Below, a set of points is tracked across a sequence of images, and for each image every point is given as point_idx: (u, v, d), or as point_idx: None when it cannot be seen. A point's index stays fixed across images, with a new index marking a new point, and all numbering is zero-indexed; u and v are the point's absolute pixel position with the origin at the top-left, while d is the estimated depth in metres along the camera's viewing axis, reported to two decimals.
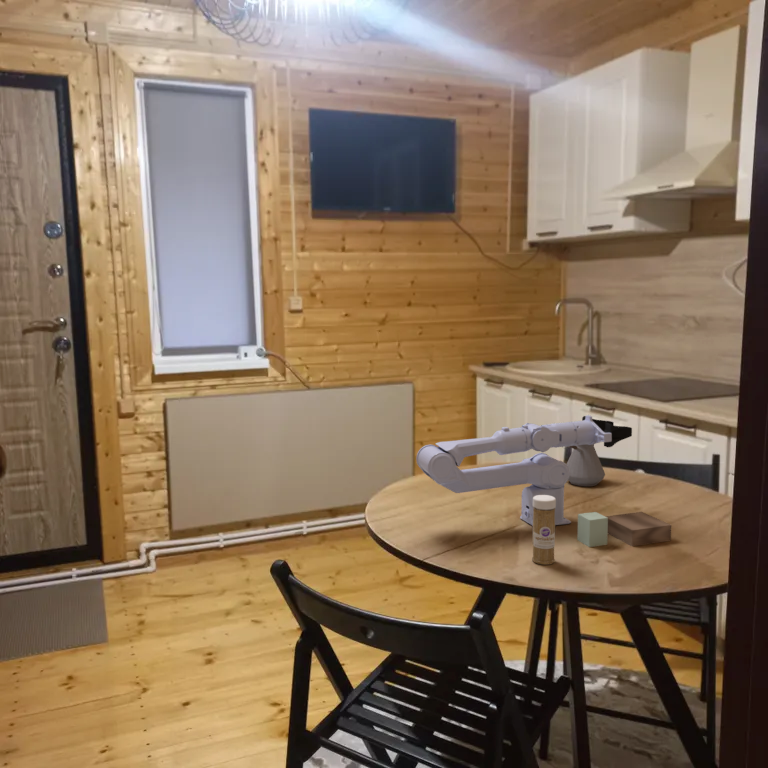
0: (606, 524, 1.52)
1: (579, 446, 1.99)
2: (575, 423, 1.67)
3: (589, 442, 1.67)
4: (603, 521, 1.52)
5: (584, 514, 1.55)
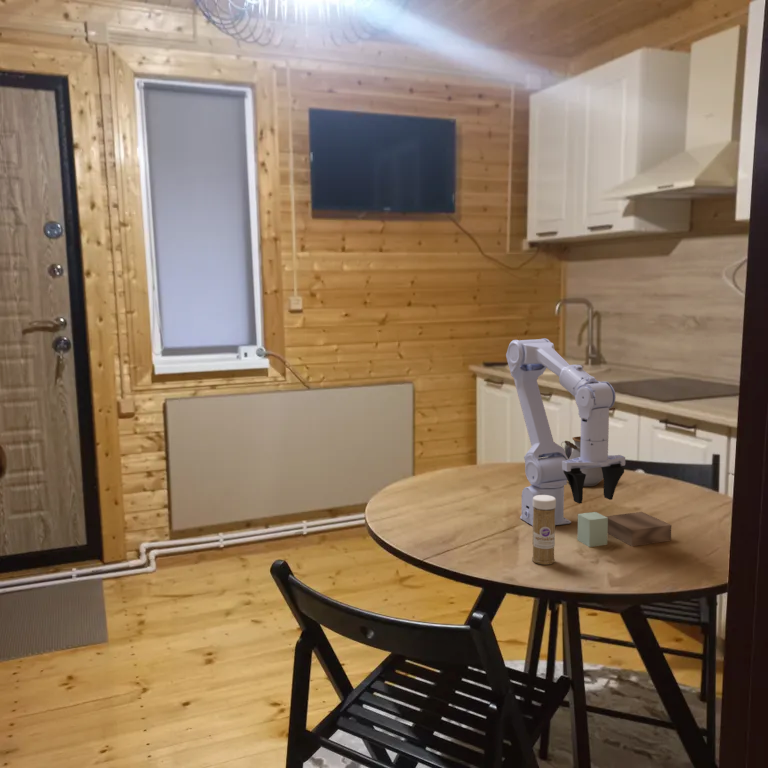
0: (606, 524, 1.52)
1: (579, 446, 1.99)
2: (597, 444, 1.49)
3: None
4: (602, 521, 1.52)
5: (584, 514, 1.55)
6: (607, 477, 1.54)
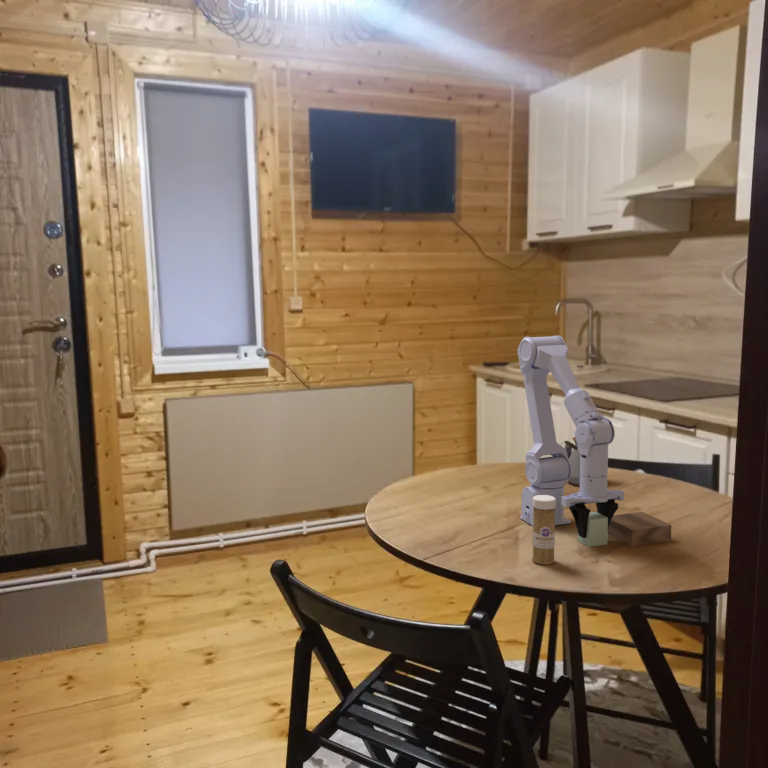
0: (606, 524, 1.52)
1: None
2: (596, 480, 1.50)
3: None
4: (603, 520, 1.52)
5: None
6: (601, 512, 1.55)
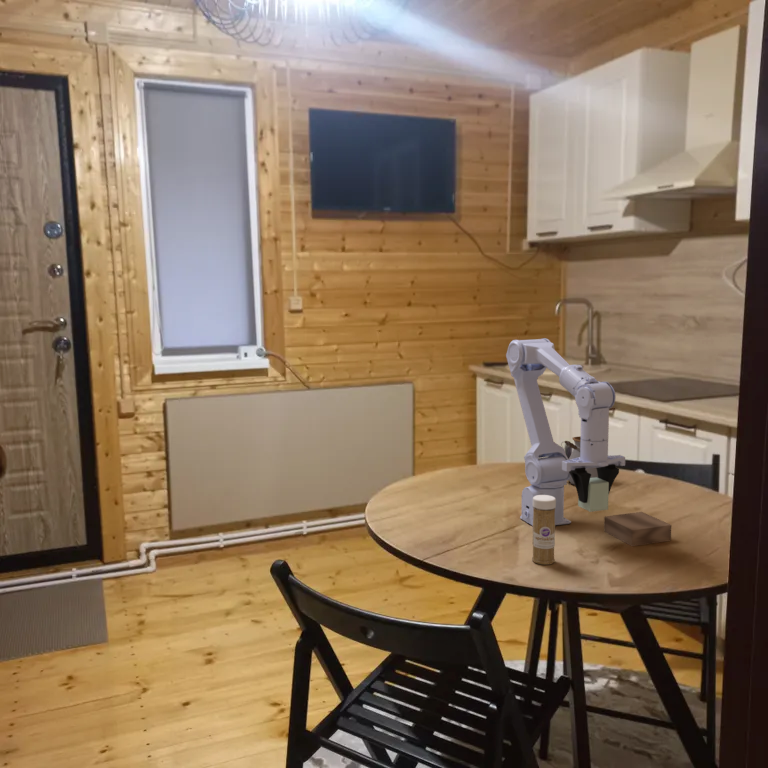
0: (607, 489, 1.51)
1: (579, 446, 1.99)
2: (597, 444, 1.49)
3: None
4: (603, 485, 1.51)
5: None
6: (602, 478, 1.54)
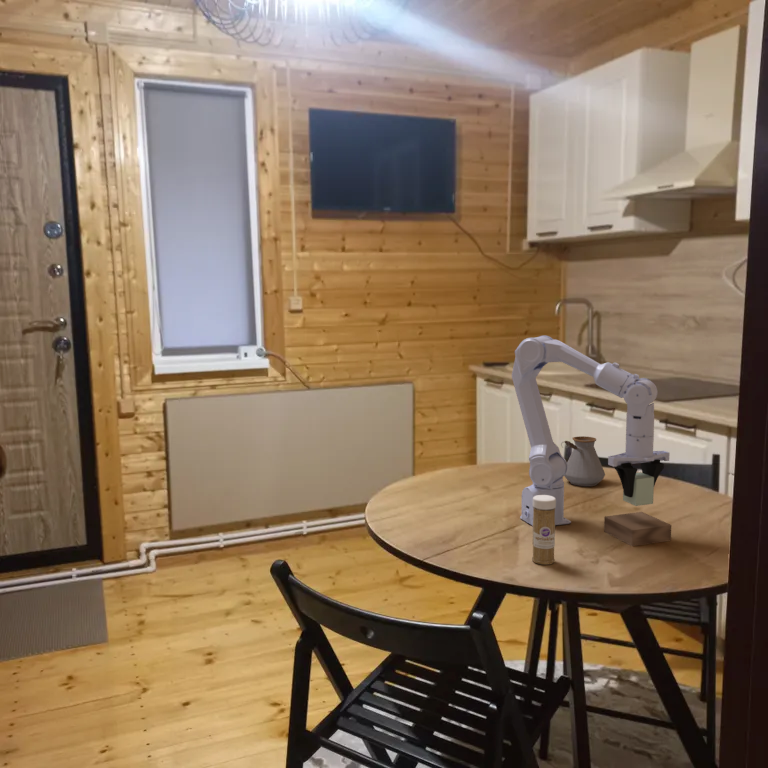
0: (652, 483, 1.55)
1: (579, 446, 1.99)
2: (643, 440, 1.52)
3: None
4: (649, 480, 1.54)
5: None
6: (646, 473, 1.57)
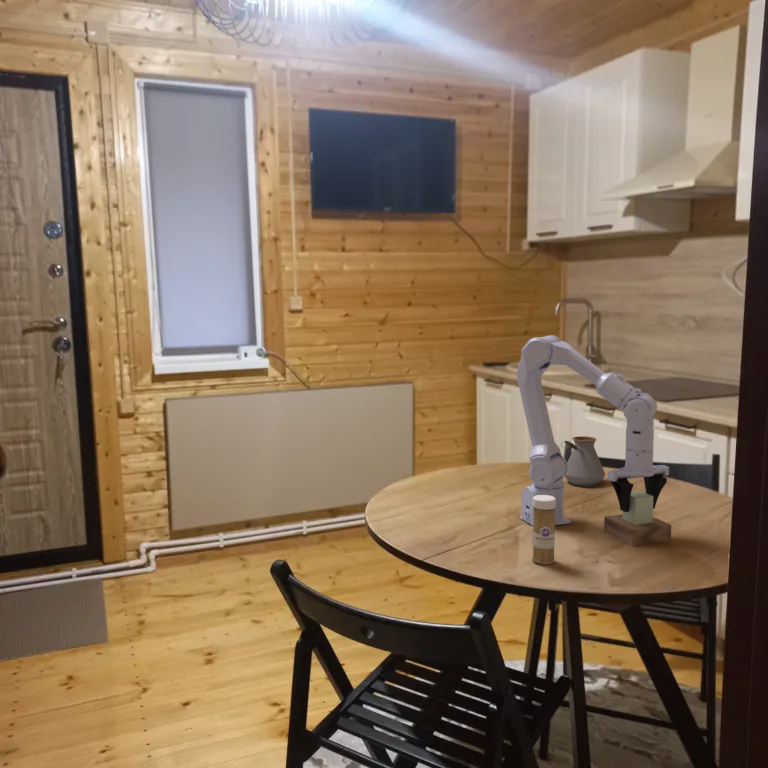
0: (652, 502, 1.55)
1: (579, 446, 1.99)
2: (643, 455, 1.53)
3: None
4: (648, 499, 1.55)
5: None
6: (649, 487, 1.58)
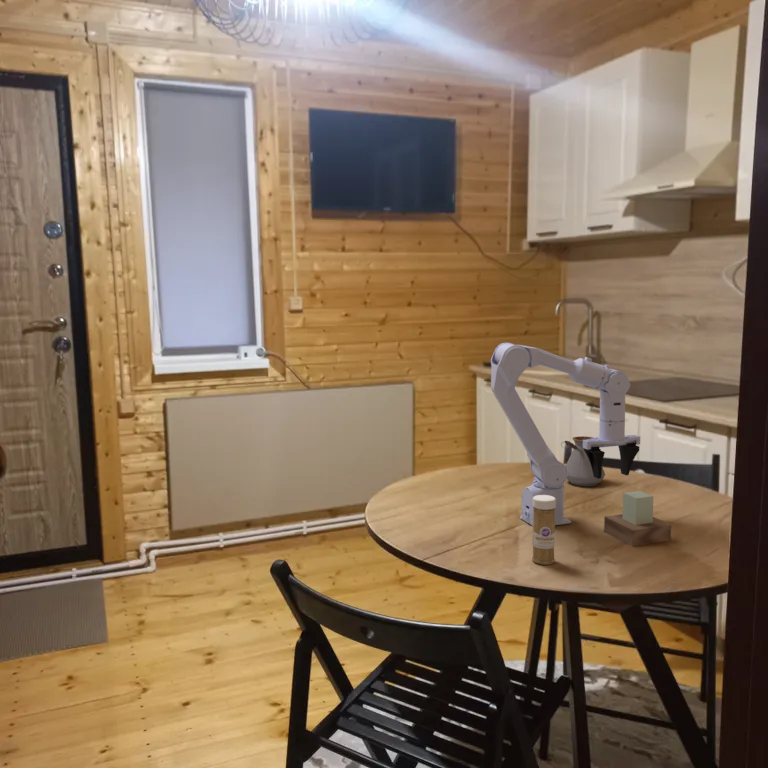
0: (652, 502, 1.55)
1: (579, 446, 1.99)
2: (615, 424, 1.64)
3: None
4: (648, 499, 1.55)
5: (629, 493, 1.58)
6: (624, 455, 1.70)
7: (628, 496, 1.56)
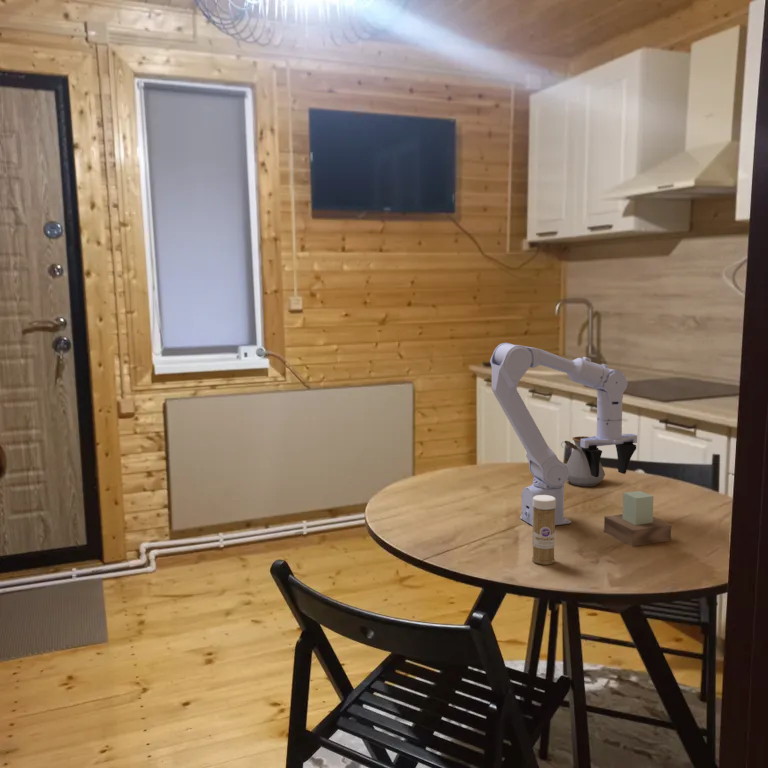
0: (652, 502, 1.55)
1: (579, 446, 1.99)
2: (612, 423, 1.66)
3: None
4: (648, 499, 1.55)
5: (629, 493, 1.58)
6: (621, 453, 1.71)
7: (628, 496, 1.56)
